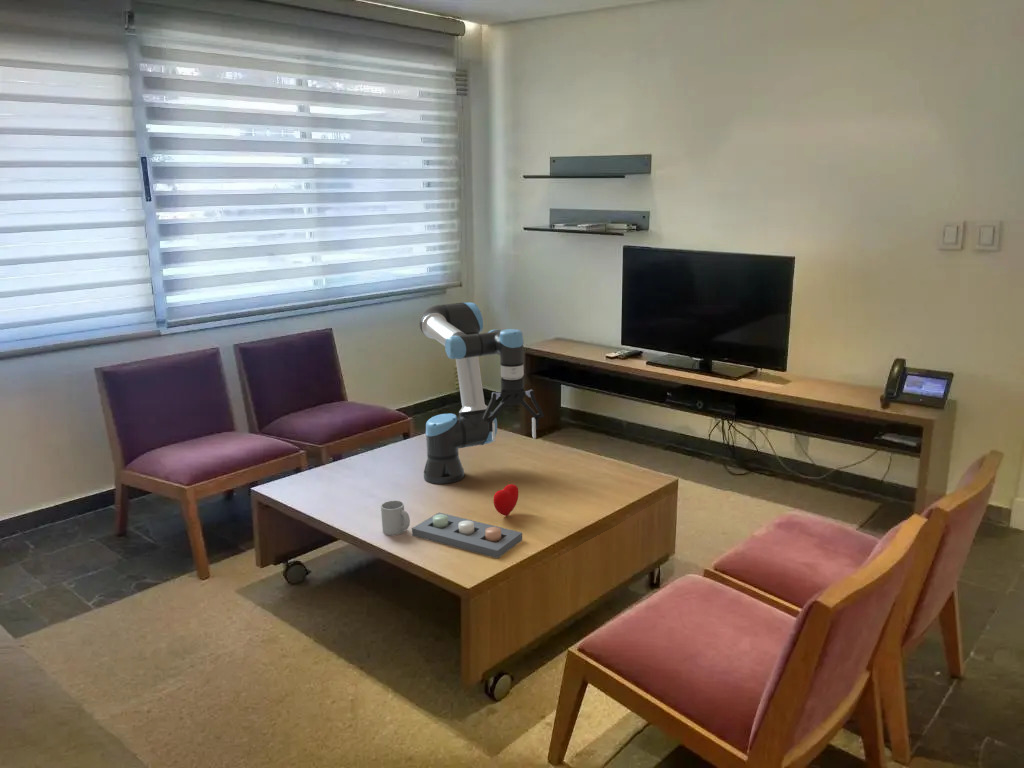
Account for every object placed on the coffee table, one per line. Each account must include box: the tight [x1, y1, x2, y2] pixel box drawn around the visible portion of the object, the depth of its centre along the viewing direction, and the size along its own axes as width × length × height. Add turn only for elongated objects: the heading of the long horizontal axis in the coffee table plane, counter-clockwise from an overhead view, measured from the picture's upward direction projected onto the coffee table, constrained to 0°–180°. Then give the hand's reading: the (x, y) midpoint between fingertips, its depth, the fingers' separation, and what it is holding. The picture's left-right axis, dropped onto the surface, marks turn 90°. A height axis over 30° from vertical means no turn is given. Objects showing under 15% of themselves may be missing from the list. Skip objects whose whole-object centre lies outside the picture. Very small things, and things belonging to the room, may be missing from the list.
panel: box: [411, 512, 523, 559], centre depth 247 cm, size 32×14×2 cm, turn 58°
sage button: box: [432, 513, 448, 529], centre depth 252 cm, size 5×5×3 cm
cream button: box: [458, 519, 474, 536], centre depth 246 cm, size 5×5×3 cm
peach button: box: [485, 526, 501, 543], centre depth 241 cm, size 5×5×3 cm
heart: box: [492, 483, 520, 517], centre depth 261 cm, size 12×5×10 cm, turn 148°
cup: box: [380, 500, 411, 537], centre depth 252 cm, size 7×10×9 cm
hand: (513, 439), depth 265 cm, fingers open, 13 cm apart
